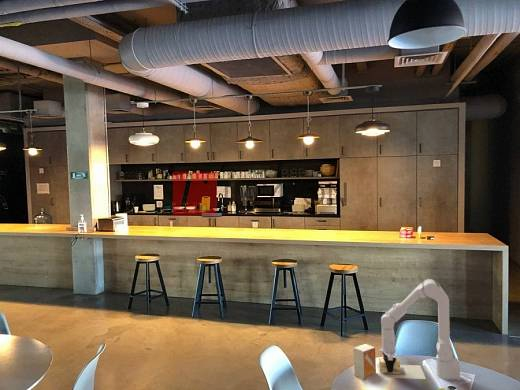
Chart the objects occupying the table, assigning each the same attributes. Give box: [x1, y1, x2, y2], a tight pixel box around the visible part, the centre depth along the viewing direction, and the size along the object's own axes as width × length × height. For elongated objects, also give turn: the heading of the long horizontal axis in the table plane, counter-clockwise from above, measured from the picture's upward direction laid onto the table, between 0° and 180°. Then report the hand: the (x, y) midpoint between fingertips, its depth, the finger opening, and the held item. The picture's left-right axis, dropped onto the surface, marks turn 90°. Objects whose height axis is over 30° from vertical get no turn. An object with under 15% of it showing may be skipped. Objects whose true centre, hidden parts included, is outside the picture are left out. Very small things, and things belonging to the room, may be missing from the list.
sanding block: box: [378, 357, 401, 374], centre depth 198 cm, size 9×5×5 cm, turn 79°
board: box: [376, 363, 427, 380], centre depth 197 cm, size 20×14×1 cm
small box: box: [353, 343, 377, 380], centre depth 197 cm, size 8×6×13 cm
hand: (389, 369), depth 198 cm, fingers closed on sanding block, 5 cm apart
